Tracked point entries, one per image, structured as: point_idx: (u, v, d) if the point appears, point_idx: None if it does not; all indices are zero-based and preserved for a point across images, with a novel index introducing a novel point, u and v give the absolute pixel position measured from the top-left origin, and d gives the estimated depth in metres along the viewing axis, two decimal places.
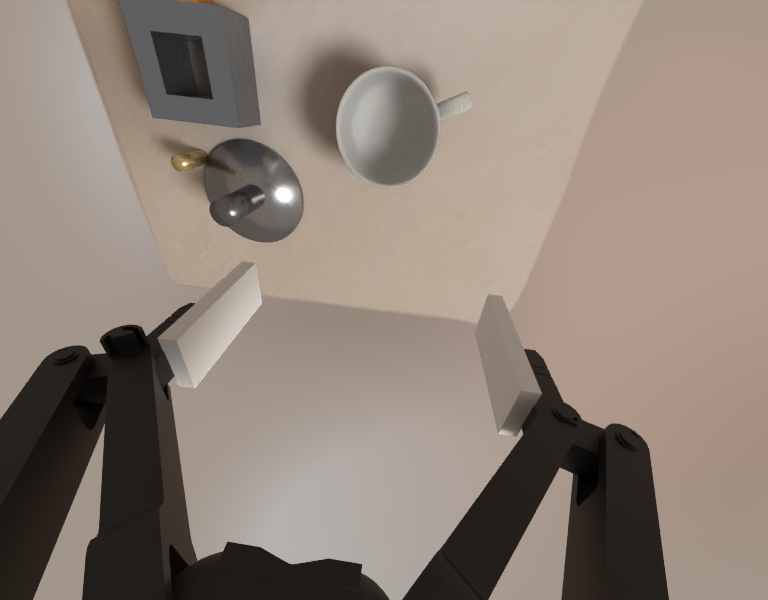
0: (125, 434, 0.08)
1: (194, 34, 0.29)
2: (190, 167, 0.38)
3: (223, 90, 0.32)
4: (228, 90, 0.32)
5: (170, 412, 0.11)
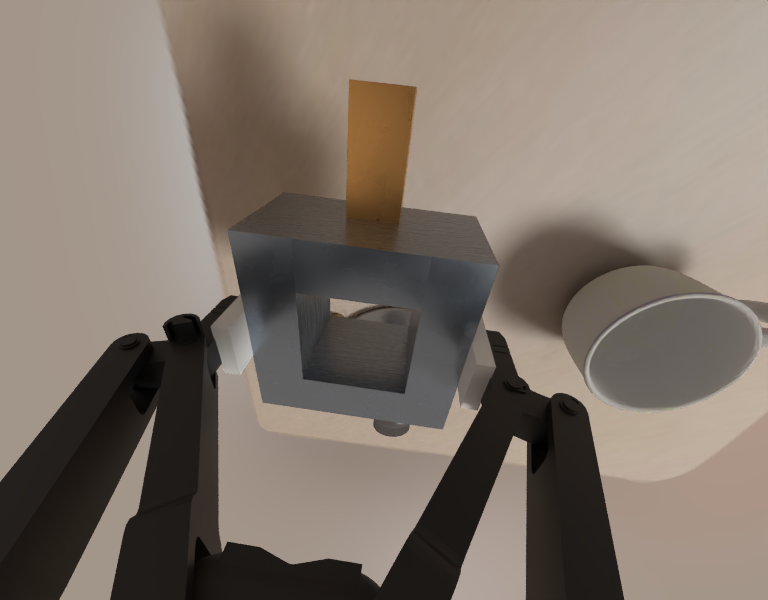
0: (173, 418, 0.09)
1: (405, 306, 0.12)
2: None
3: (435, 385, 0.15)
4: (446, 385, 0.14)
5: (215, 400, 0.12)
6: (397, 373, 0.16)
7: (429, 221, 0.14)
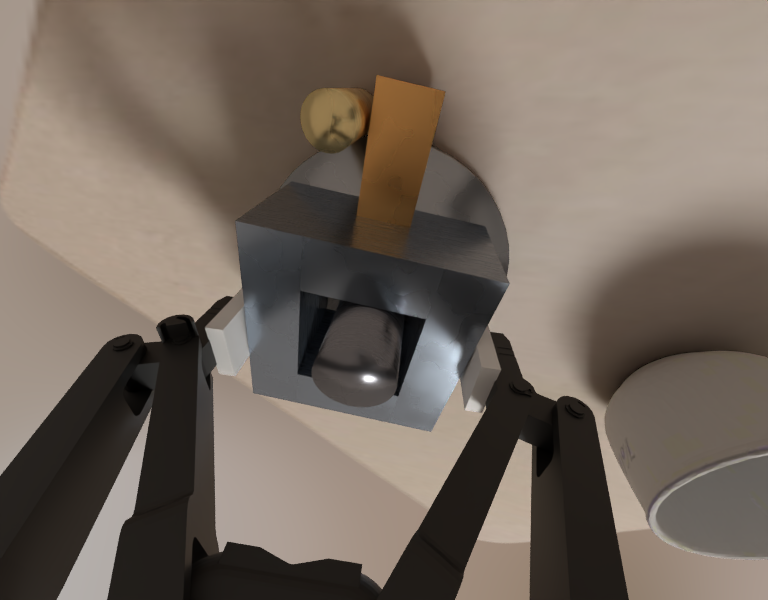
0: (167, 419, 0.09)
1: (410, 313, 0.12)
2: None
3: (430, 390, 0.15)
4: (440, 392, 0.15)
5: (210, 401, 0.12)
6: None
7: (440, 227, 0.14)
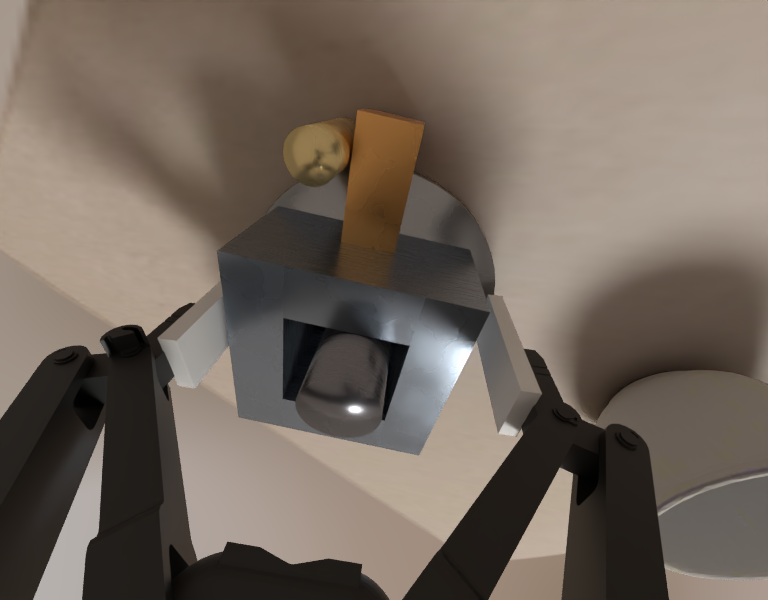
0: (125, 434, 0.08)
1: (393, 340, 0.12)
2: None
3: (416, 415, 0.15)
4: (426, 416, 0.15)
5: (170, 412, 0.11)
6: None
7: (424, 252, 0.14)
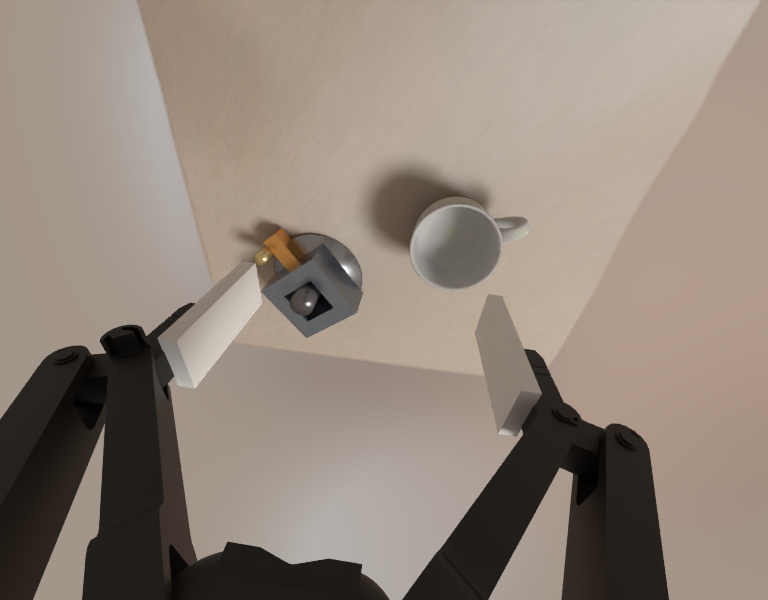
0: (125, 434, 0.08)
1: (306, 282, 0.42)
2: (268, 260, 0.43)
3: (337, 299, 0.43)
4: (339, 297, 0.43)
5: (170, 412, 0.11)
6: None
7: (307, 255, 0.44)
